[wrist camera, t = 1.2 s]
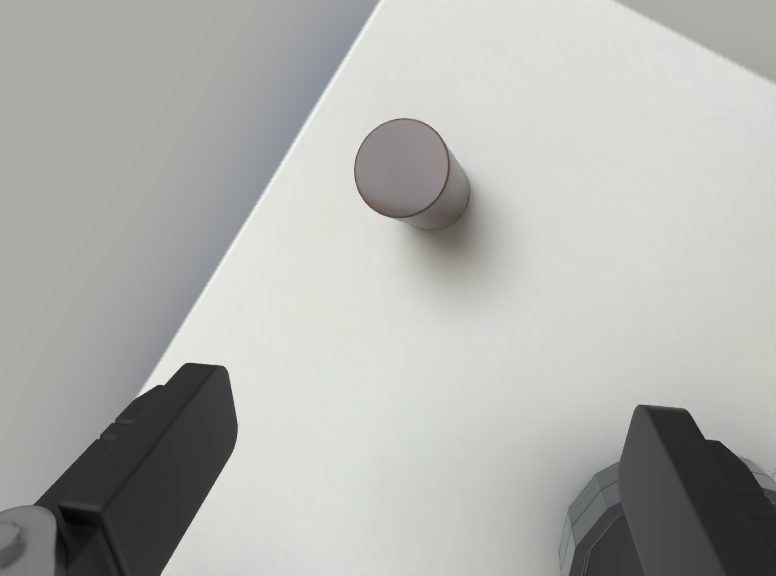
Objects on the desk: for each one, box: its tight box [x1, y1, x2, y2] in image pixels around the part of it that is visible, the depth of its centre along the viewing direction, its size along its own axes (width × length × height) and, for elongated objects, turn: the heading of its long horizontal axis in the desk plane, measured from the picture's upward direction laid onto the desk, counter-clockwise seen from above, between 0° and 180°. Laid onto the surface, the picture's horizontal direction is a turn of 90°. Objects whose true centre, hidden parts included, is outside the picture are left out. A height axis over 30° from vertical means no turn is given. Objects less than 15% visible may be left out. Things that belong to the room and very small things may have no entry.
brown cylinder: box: [354, 118, 470, 230], centre depth 26 cm, size 4×4×8 cm
